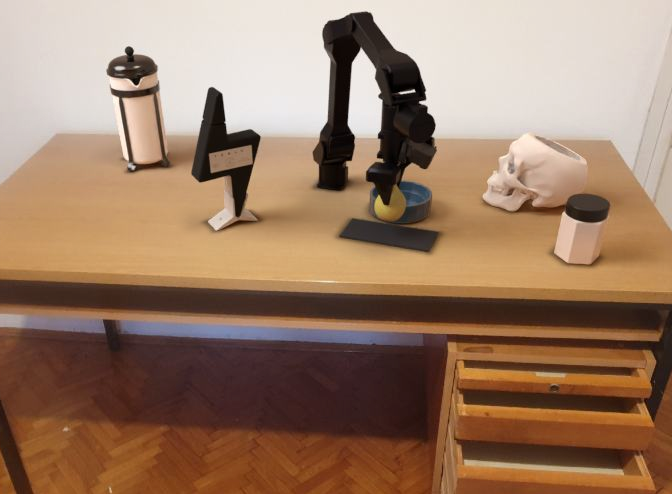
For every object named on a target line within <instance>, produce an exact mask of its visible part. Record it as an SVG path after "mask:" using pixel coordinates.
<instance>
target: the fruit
mask: <svg viewBox="0 0 672 494" xmlns="http://www.w3.org/2000/svg"><path fill="white" fill-rule="evenodd" d="M405 208H406V199H405V197H404V195H403V194H402V192H401V191H400V190H399V188H398V187H397V184H396V185H394V187H393V191H392V195H391V200H390V203H389V205H388V206H387V205H384V204H383V202H382V200H381V198H380V195H378V197H377V199H376V201H375V213H376V215H377V216H378V217H379V218H380V219H382V220H381V221H383V220H386V221H385V222H387V221H395V220H397V219H399V218H400V217H401V216H402V215H403V213H404V211H405ZM380 219H379V220H380Z"/></svg>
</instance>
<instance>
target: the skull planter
mask: <svg viewBox="0 0 672 494" xmlns="http://www.w3.org/2000/svg"><path fill="white" fill-rule="evenodd" d="M497 160H498V163H499V166H498V169H497V170H493V171H492V172H493V173H492V175H491V176H490V177H489V178H488V179H487V180H486V184H487V186H488V187H487V190H486V191H485V192H484V193H483V194H482V197H481V198H482V200H483V201H484V202H486V204H489V205H490V206H492V207H496V208H499V209H504V210H506V211H508V212H516V211H517V210H519V209H520V208H521V207H522V205H523V204H524V203H525V202H526V201H528V200H531V201H532V202H531V205H532V206H533V207H535V208H542V207H543V208H557V207H560V206H566V203H567V200H568V198H569V197H570V196H572V195H575V194H582V191H583V190H584V189H585V186H586V185H587V183H588V179H589V166H588V162H587V160H586V158H584V157H583V156H581V155H580V154H578V153H577V152H575V151H573V150H572V149H570V148H568V147H566V146H564V145H563V144H561V143H558V142H557V141H554V140H553V139H550V138H548V137H545V136H543V135H540V134H537V133H535V132H526V133H523V134H522V135H521V136H520V137H519V138H517V139H516V140H513V141H512V142H511V143H510V145H509V149H508V153H507V154H506V155H502V156H499V158H498V159H497ZM521 191H523V192H524V193H521Z"/></svg>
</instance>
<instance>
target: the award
mask: <svg viewBox="0 0 672 494" xmlns="http://www.w3.org/2000/svg"><path fill="white" fill-rule="evenodd" d="M224 103H225V102H224V95H223V93H222V92H221V91H219V89H216V88H215V87H214V86H210V87H208V89H207V93H206V97H205V103H204V107H203V112H202V116H201V117H202V120H201V123H200V127H199V132H198V138H197V142H196V147H195V152H194V157H193V163H192V167H191V176H192V177H193V178H194V179H195V180H196V181H197V182H198V183H205V182H209V181H213V180H217V179H220V178H224V183H225V184H224V185H225V189H223V200H224V201H223V202H224V207H223V209H221V210H220V211H219V212H217V213H216V214H215V215H214V216H213V217H211V218H210V219H209V220H208V221H207V223H208V224H209V225H210V226H211V227H212V228H213V229H214V230H215V232H217V231H220V230H222V229H225V228H226V227H227V226H229V225H231V224H234V223H236V222H238V221H253V222H257V221H259V219H258V218H257V217H255V216H254V215H253V214H252V213H251V211H250V210H247V209H246V205H247V202H248V197H249V193H248V188H249V184H250V180H251V176H252V173H253V170H254V165H255V162H256V158H257V155H258V151H259V146H260V143H261V139H262V137H261V135H260V134H259V133H257V132H256V131H254V130H253V129H251V128H249V129H245V130H240V131H235V132H229V133H228V131H227V123H226V122H227V120H226V111H225V104H224Z"/></svg>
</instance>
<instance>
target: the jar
mask: <svg viewBox="0 0 672 494" xmlns="http://www.w3.org/2000/svg"><path fill="white" fill-rule="evenodd" d="M564 206H565V209H564V211H563V212H562V214H561V219H560V223H559V226H558V227H559V228H558V233H557V235H556V236H557V237H556V240H555V246H554V250H553V254H554V255H556V256H557V257H559V258H560V259H561V260H562V261H564V262H565V263H566V264H574V265H587V266H589V265H592V263H594V262H595V260H596V259H597V258H598V257H599V256H600V254H601V249H602V246H603V243H604V239H605V235H606V231H607V227H608V223H609V218H610V214H609V213H610V209H611V202H610V201H609V200H608V199H606V198H605V197H603V196H600V195H598V194H593V193H580V194H575V195H572V196H570V197H569V198H568V200H567V203H566V204H565V205H564Z"/></svg>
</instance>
